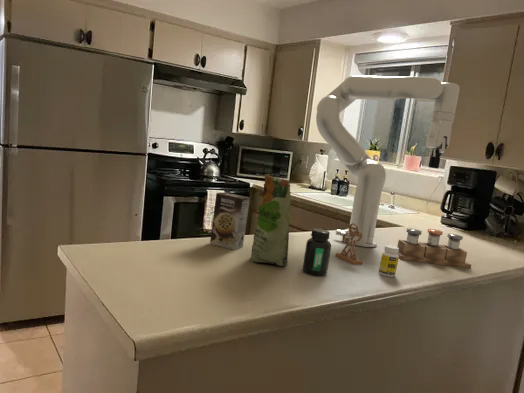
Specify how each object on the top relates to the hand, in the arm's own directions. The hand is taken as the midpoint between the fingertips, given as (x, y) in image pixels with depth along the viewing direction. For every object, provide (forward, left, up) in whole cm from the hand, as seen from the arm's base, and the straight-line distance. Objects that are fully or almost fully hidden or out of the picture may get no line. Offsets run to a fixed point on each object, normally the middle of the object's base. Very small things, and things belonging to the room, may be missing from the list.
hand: (433, 167), depth 163 cm
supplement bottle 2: (-24, -36, -32) cm, 54 cm away
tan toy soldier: (-33, -25, -32) cm, 52 cm away
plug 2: (+7, -11, -30) cm, 33 cm away
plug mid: (0, -11, -29) cm, 31 cm away
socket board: (0, -11, -32) cm, 34 cm away
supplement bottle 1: (-47, -43, -32) cm, 71 cm away
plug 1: (-8, -11, -30) cm, 33 cm away
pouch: (-60, -38, -32) cm, 78 cm away
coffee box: (-72, -25, -32) cm, 83 cm away
